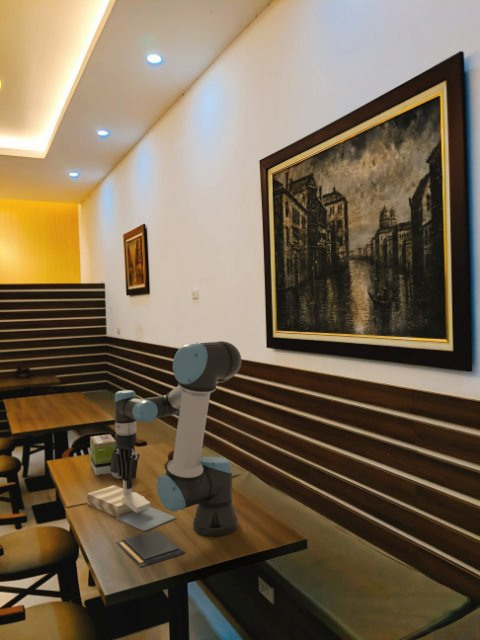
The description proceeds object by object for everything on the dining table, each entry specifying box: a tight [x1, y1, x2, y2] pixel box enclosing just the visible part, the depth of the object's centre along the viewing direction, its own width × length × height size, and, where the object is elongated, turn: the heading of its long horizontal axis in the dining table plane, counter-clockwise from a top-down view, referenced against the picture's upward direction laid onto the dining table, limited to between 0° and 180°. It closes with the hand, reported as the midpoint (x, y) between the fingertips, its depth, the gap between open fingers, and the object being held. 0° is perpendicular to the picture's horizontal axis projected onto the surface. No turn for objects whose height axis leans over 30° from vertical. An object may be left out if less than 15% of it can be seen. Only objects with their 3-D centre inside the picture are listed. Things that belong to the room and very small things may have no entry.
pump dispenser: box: [110, 445, 122, 480], centre depth 223 cm, size 10×10×15 cm
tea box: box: [89, 433, 117, 476], centre depth 235 cm, size 15×10×15 cm
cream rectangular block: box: [122, 491, 151, 513], centre depth 182 cm, size 9×6×2 cm, turn 48°
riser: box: [86, 485, 146, 518], centre depth 191 cm, size 20×12×4 cm, turn 48°
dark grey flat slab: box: [115, 530, 186, 569], centre depth 156 cm, size 20×2×15 cm
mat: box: [115, 506, 177, 533], centre depth 178 cm, size 16×14×1 cm
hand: (127, 496), depth 185 cm, fingers closed
